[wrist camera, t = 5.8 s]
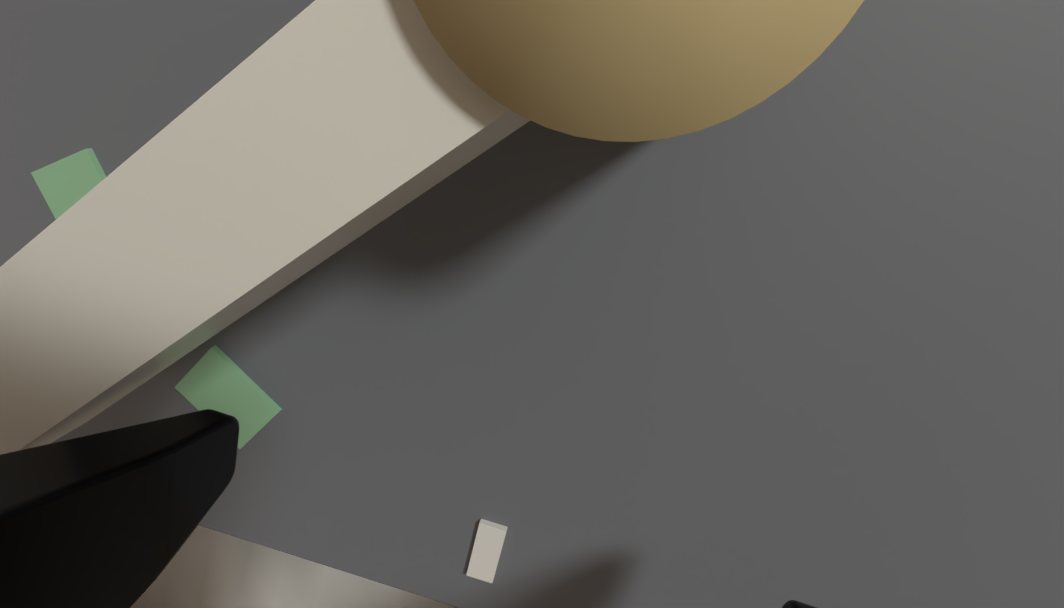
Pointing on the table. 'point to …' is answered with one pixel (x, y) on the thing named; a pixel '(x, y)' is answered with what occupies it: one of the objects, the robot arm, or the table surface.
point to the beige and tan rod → (351, 163)
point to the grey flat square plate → (635, 327)
